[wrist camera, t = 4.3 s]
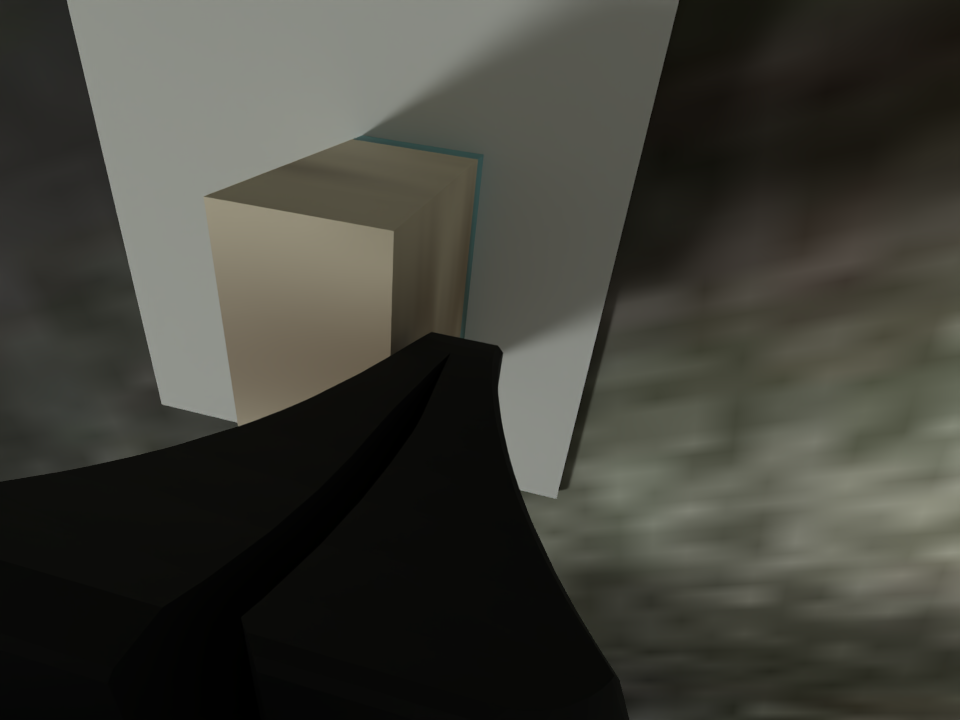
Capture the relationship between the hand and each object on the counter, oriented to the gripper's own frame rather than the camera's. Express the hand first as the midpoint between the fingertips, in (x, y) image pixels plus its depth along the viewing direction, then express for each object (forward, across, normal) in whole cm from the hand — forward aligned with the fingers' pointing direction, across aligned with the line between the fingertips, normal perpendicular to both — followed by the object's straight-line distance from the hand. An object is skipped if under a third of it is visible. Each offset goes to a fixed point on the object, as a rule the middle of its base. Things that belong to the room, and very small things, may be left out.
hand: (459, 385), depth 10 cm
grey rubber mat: (+5, +4, 0) cm, 7 cm away
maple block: (+5, +2, 0) cm, 6 cm away
